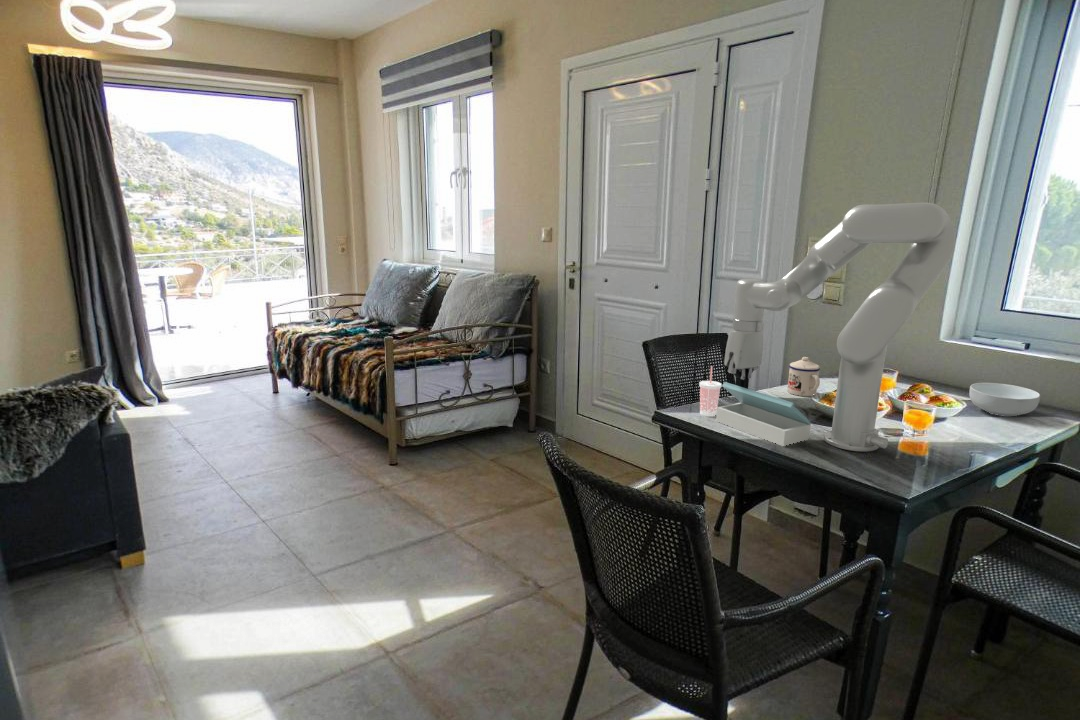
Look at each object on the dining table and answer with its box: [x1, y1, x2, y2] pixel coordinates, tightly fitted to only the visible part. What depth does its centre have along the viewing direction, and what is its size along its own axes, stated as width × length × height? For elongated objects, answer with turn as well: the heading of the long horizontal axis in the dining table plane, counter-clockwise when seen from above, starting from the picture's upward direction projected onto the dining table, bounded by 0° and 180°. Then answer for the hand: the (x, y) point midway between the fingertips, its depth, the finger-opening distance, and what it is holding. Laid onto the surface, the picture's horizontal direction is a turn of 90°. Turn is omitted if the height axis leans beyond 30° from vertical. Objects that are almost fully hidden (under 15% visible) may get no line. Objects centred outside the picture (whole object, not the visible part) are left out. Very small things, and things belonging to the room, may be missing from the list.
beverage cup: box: [699, 365, 723, 417], centre depth 181 cm, size 6×6×14 cm
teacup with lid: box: [786, 356, 821, 397], centre depth 202 cm, size 12×9×12 cm
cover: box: [721, 381, 812, 425], centre depth 169 cm, size 22×10×1 cm
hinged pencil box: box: [715, 401, 812, 447], centre depth 170 cm, size 22×10×4 cm, turn 32°
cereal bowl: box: [968, 382, 1041, 417], centre depth 187 cm, size 17×17×7 cm
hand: (741, 392), depth 175 cm, fingers closed
